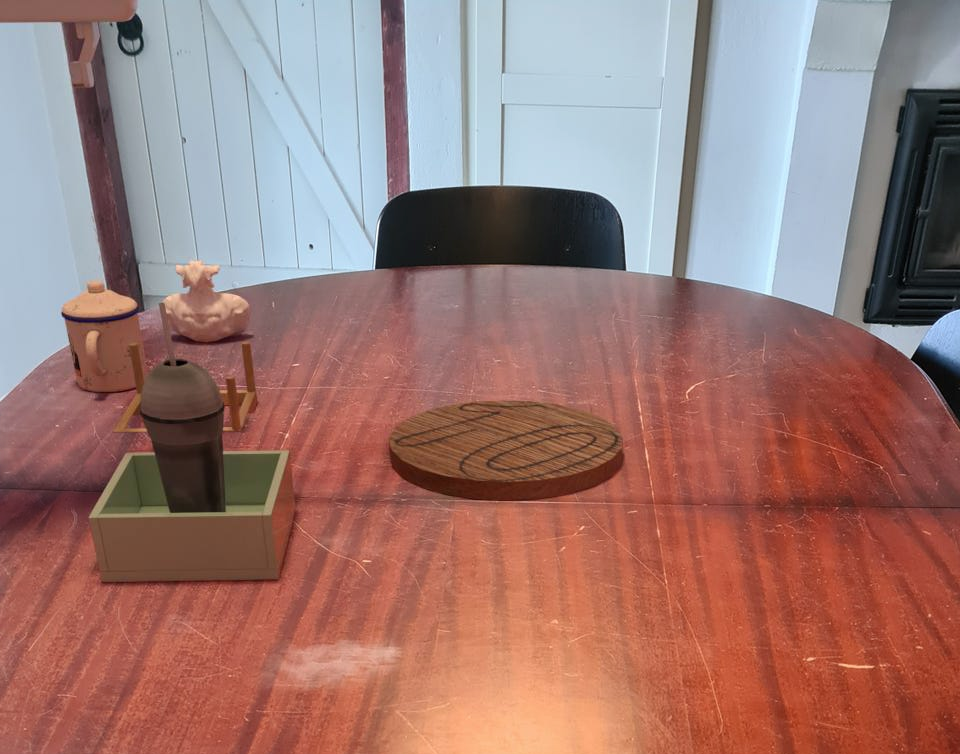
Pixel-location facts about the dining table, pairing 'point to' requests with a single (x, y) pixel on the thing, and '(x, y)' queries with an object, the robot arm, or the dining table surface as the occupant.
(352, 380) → the dining table surface
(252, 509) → the open box
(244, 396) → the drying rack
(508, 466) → the trivet
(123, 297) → the teacup with lid
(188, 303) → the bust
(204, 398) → the beverage cup
